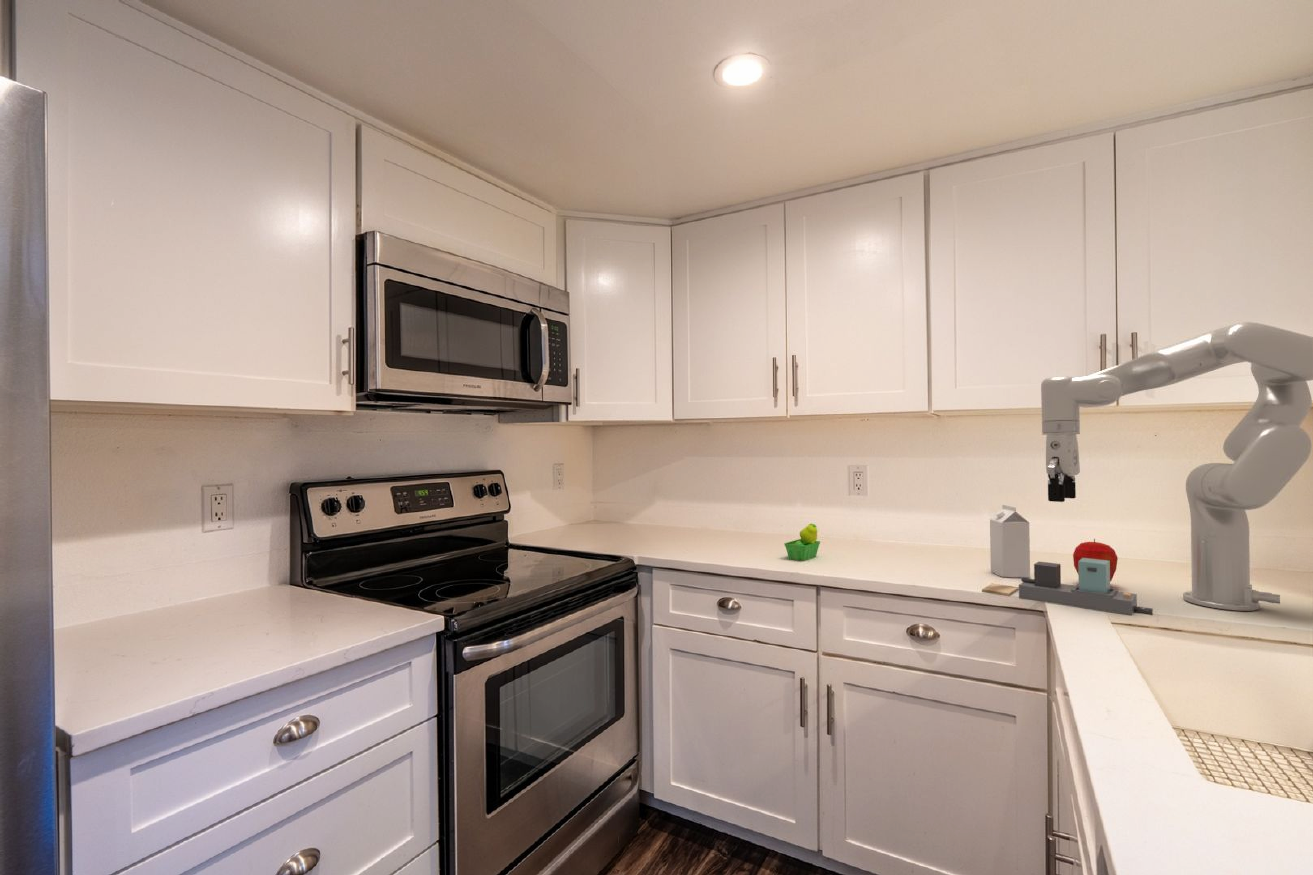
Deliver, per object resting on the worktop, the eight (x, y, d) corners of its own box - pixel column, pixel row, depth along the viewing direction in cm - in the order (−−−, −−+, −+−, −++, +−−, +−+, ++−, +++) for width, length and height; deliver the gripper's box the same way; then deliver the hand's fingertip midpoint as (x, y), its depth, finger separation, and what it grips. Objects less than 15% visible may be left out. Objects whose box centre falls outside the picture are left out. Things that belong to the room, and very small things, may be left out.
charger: (1110, 591, 133) (1109, 560, 133) (1106, 596, 129) (1105, 564, 129) (1083, 587, 137) (1082, 557, 137) (1078, 592, 133) (1078, 561, 133)
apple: (1124, 591, 144) (1123, 542, 144) (1080, 588, 147) (1079, 540, 147) (1109, 582, 153) (1109, 536, 153) (1068, 580, 156) (1068, 534, 156)
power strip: (1154, 610, 129) (1153, 573, 129) (1150, 618, 123) (1149, 580, 123) (1025, 590, 146) (1025, 558, 146) (1016, 597, 141) (1016, 563, 141)
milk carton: (1016, 572, 166) (1015, 504, 166) (1030, 578, 159) (1029, 507, 159) (990, 571, 167) (989, 504, 167) (1002, 577, 160) (1001, 507, 160)
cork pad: (1018, 589, 147) (1018, 587, 147) (1009, 596, 142) (1009, 593, 142) (992, 585, 152) (992, 583, 152) (982, 591, 146) (982, 589, 146)
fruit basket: (800, 553, 196) (799, 519, 196) (825, 557, 191) (824, 522, 191) (783, 559, 188) (782, 523, 188) (809, 562, 182) (808, 526, 182)
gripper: (1069, 428, 133) (1071, 504, 133) (1088, 428, 145) (1090, 497, 145) (1031, 429, 139) (1033, 501, 139) (1052, 428, 151) (1054, 496, 151)
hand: (1062, 499), depth 142 cm, fingers open, 9 cm apart
